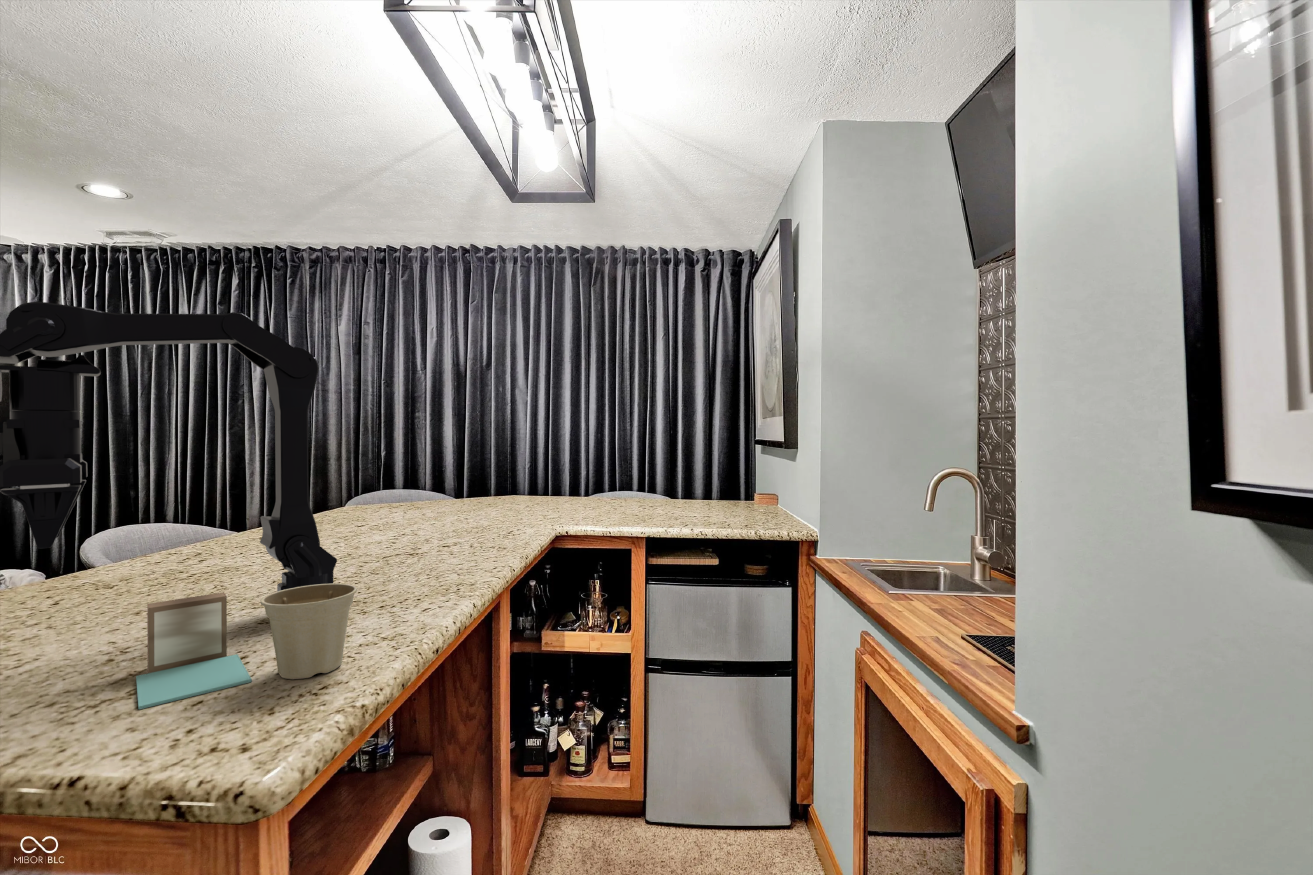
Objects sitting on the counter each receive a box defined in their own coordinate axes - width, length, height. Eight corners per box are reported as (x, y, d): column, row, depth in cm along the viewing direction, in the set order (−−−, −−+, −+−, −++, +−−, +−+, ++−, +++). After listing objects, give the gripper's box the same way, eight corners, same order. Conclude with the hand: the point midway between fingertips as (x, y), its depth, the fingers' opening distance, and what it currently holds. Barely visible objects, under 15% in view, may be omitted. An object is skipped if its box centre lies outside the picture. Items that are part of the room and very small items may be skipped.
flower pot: (271, 660, 67) (271, 587, 67) (360, 648, 71) (360, 579, 71) (250, 693, 58) (250, 609, 58) (353, 677, 62) (353, 598, 62)
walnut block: (223, 652, 70) (223, 592, 70) (226, 658, 68) (226, 595, 68) (147, 669, 65) (147, 603, 65) (148, 675, 63) (148, 608, 63)
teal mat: (237, 656, 68) (237, 654, 68) (251, 681, 61) (251, 678, 61) (136, 678, 62) (136, 675, 62) (138, 709, 55) (138, 706, 55)
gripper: (-45, 413, 68) (-42, 542, 68) (-86, 406, 55) (-83, 566, 55) (86, 414, 76) (88, 530, 76) (78, 408, 62) (81, 549, 62)
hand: (48, 542), depth 67 cm, fingers open, 9 cm apart
